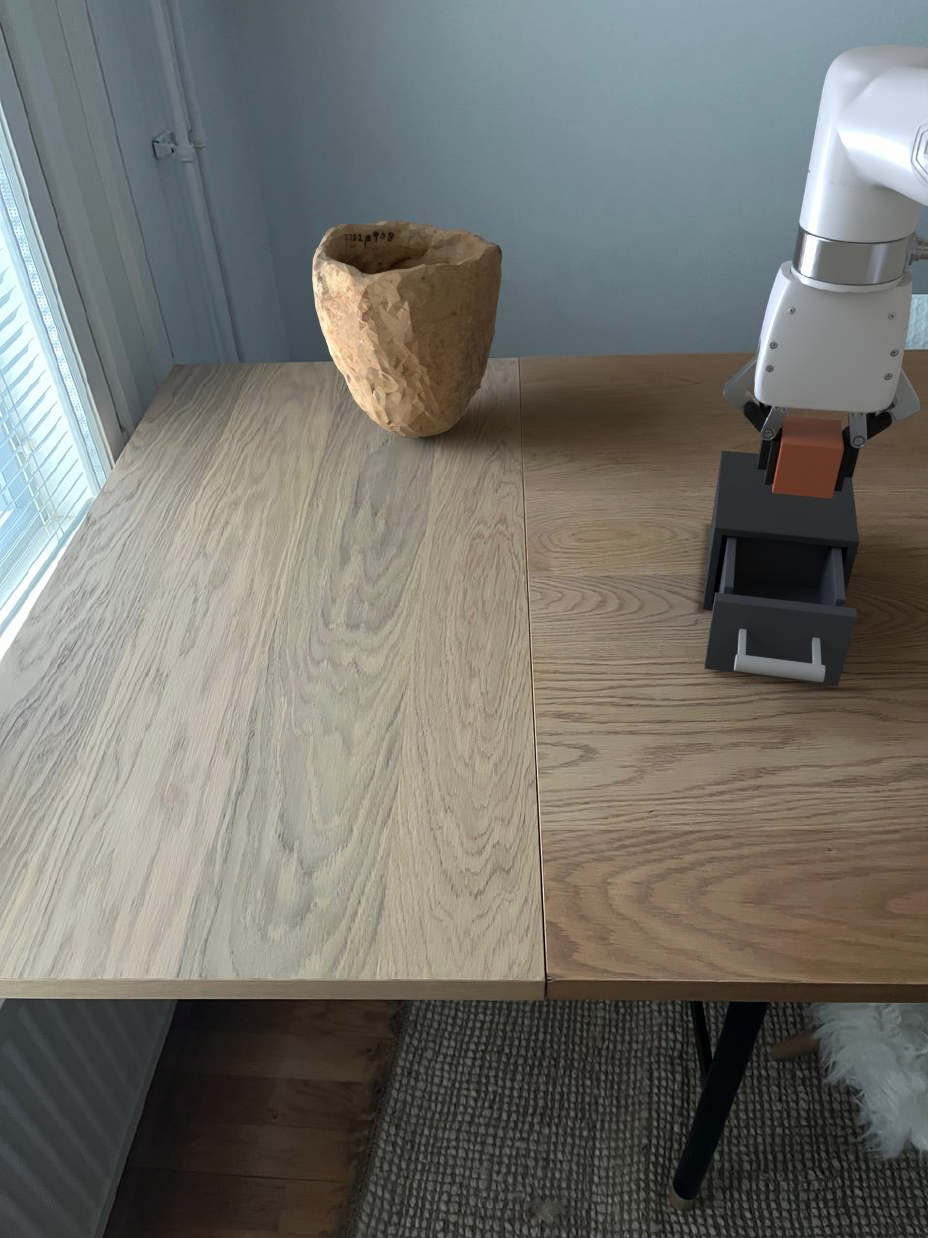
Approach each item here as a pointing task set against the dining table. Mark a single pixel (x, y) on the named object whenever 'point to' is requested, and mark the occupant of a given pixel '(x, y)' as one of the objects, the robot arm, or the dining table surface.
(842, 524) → the drawer cabinet
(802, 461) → the block
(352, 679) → the dining table surface
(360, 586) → the dining table surface
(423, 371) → the rough clay pot
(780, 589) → the dark grey drawer
